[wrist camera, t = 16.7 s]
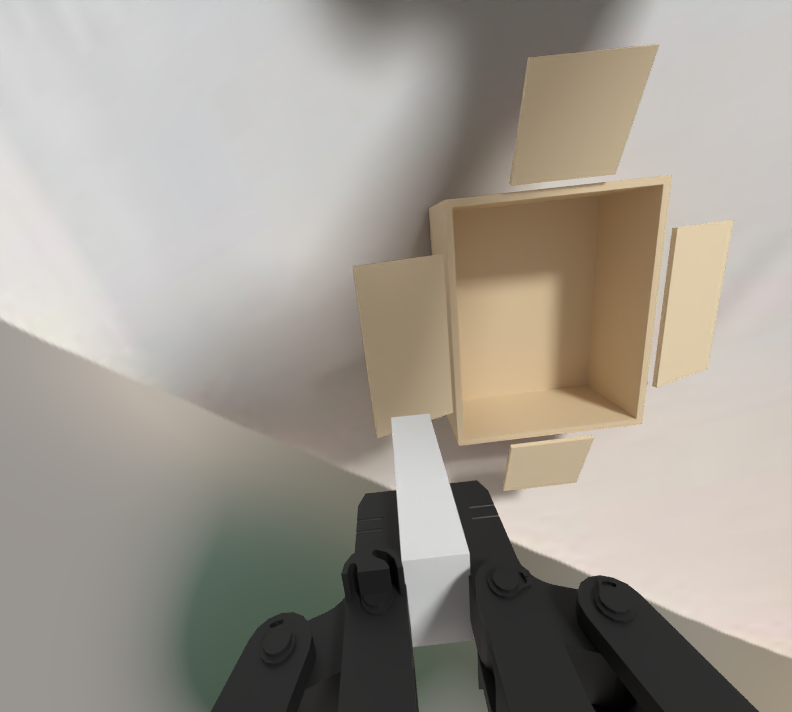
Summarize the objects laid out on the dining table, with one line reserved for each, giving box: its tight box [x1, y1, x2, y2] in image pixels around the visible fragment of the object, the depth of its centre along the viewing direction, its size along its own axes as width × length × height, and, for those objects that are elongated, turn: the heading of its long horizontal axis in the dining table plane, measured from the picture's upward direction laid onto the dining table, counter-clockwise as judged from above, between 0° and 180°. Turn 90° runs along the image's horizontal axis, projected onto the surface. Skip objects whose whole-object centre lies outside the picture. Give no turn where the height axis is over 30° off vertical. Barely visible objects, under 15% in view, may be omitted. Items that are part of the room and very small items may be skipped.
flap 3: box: [502, 435, 594, 491], centre depth 37 cm, size 8×8×1 cm
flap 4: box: [652, 220, 733, 387], centre depth 33 cm, size 14×8×1 cm, turn 6°
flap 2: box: [509, 44, 659, 185], centre depth 25 cm, size 8×8×1 cm
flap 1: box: [353, 254, 453, 439], centre depth 30 cm, size 14×8×1 cm, turn 6°
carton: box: [428, 175, 672, 446], centre depth 36 cm, size 22×18×9 cm
